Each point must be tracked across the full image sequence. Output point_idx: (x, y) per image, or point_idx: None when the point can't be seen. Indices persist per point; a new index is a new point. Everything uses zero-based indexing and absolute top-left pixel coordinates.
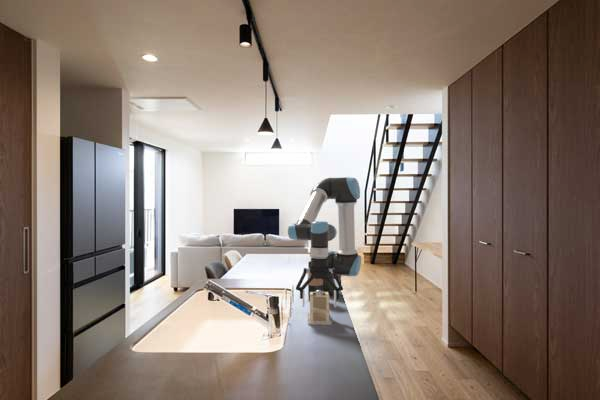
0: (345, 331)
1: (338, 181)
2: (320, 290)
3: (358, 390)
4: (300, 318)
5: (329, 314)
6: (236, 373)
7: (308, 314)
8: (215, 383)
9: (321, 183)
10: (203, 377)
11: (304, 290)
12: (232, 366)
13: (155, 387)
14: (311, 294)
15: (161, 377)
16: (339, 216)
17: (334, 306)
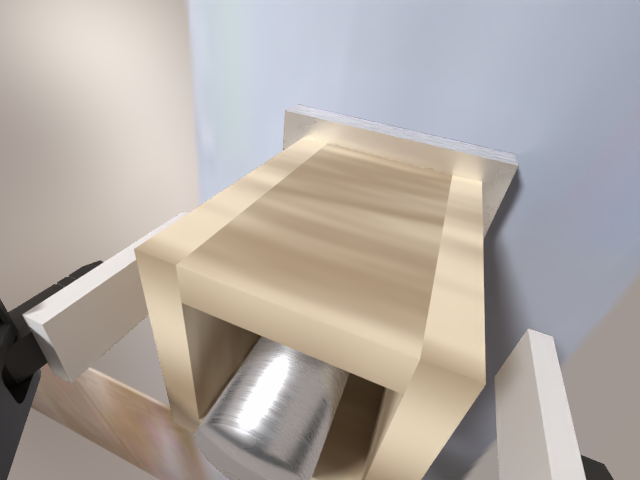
0: (475, 420)
1: None
2: (266, 470)
3: None
4: (243, 131)
5: (499, 188)
6: (137, 440)
7: (291, 139)
8: (120, 445)
9: None
10: (94, 423)
11: (45, 330)
12: (119, 418)
13: (52, 412)
14: (176, 377)
15: (39, 393)
16: None
17: (495, 384)
